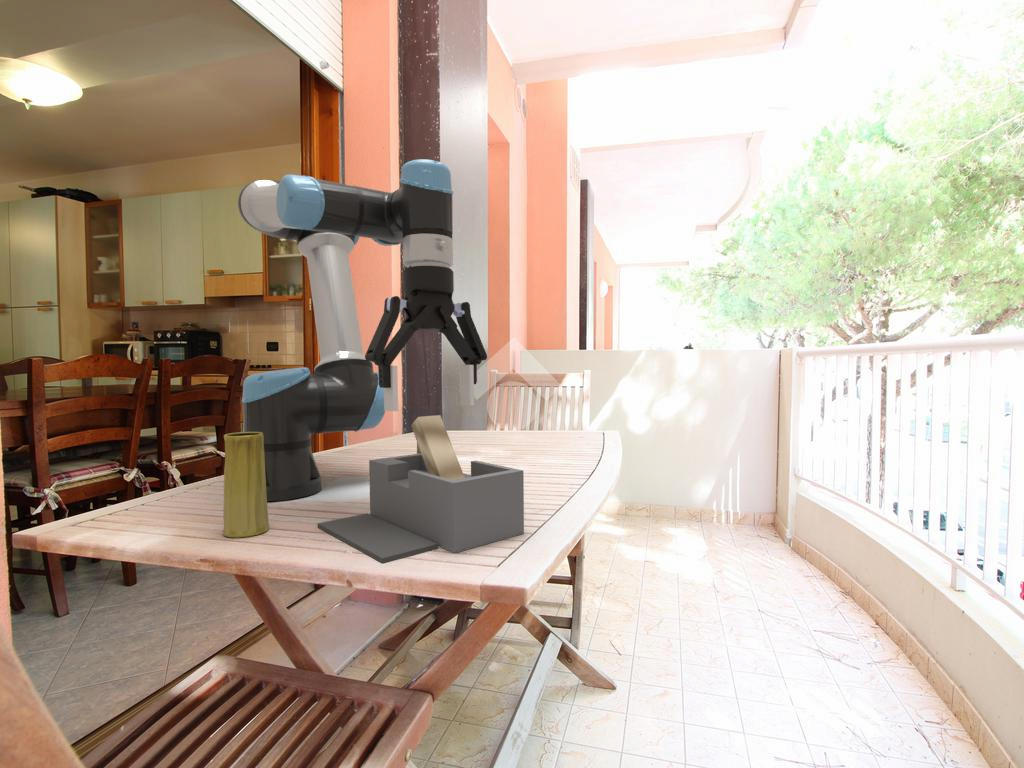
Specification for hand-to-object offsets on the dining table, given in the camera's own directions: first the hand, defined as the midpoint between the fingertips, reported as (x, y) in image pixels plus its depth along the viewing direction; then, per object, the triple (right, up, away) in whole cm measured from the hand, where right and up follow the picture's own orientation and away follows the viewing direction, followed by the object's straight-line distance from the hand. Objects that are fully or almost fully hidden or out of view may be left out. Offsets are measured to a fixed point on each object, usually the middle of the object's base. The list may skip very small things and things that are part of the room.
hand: (431, 408), depth 85 cm
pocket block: (+2, -17, -2) cm, 18 cm away
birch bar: (+2, -10, -2) cm, 10 cm away
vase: (-26, -18, -4) cm, 32 cm away
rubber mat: (-7, -18, -7) cm, 20 cm away
